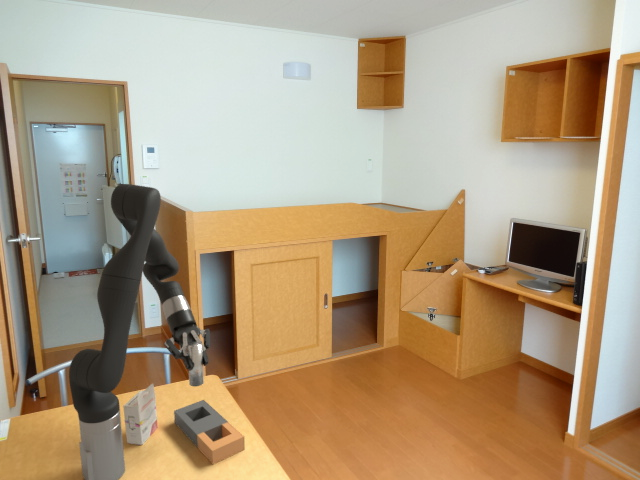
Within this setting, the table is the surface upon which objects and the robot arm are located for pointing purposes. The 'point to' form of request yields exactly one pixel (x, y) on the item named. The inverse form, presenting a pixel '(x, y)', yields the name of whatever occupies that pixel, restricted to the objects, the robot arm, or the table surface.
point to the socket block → (209, 431)
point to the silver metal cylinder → (196, 363)
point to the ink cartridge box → (140, 416)
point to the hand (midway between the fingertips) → (198, 366)
